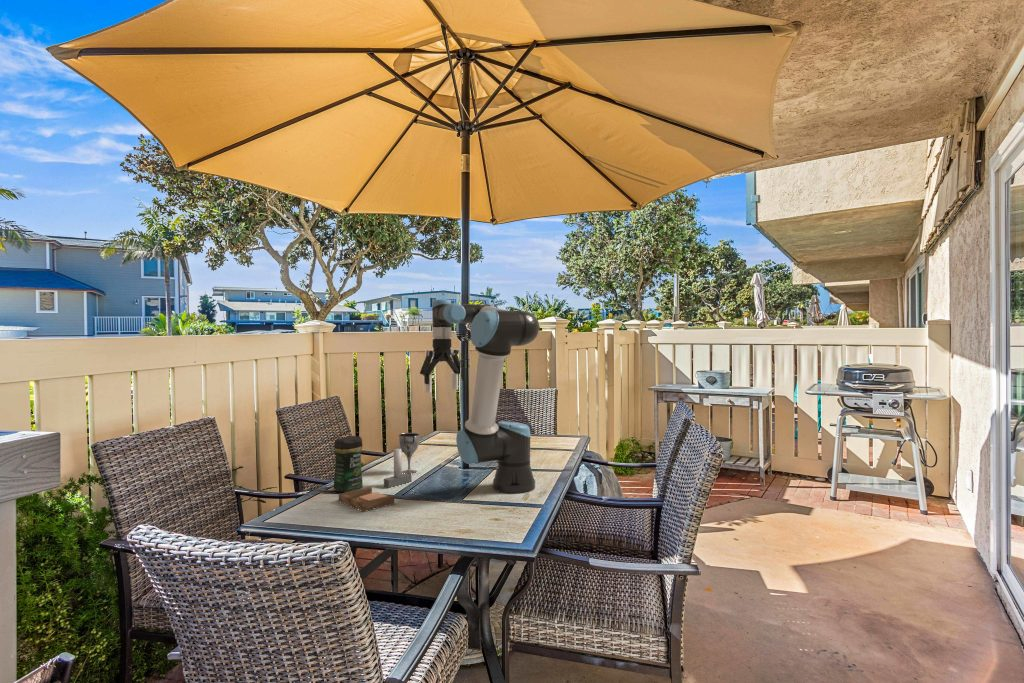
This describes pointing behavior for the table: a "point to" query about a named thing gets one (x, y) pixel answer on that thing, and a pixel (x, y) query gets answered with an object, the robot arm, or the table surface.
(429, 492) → the table surface
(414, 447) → the wine glass
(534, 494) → the table surface
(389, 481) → the scraper
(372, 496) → the tile
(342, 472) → the coffee jar
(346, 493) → the frame
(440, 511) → the table surface
